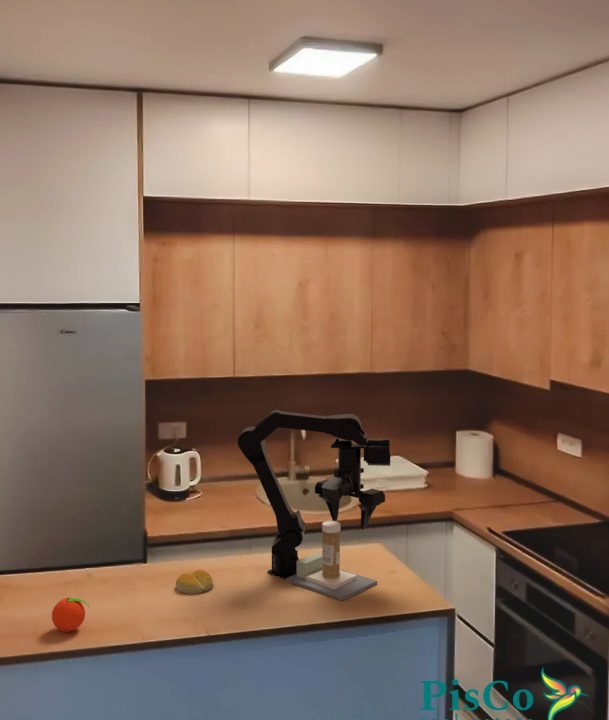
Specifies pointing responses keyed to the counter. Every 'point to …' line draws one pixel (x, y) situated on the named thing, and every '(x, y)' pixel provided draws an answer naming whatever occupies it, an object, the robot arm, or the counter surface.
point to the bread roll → (194, 582)
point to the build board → (328, 579)
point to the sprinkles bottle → (331, 549)
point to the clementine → (68, 614)
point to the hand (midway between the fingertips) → (348, 525)
